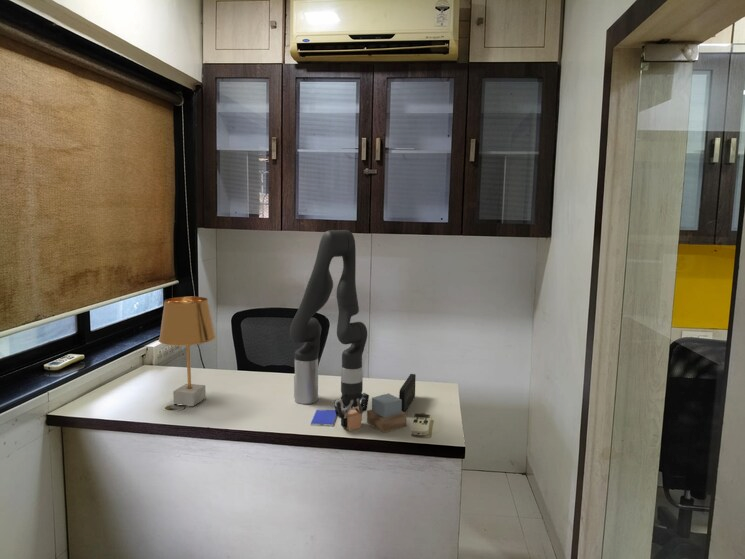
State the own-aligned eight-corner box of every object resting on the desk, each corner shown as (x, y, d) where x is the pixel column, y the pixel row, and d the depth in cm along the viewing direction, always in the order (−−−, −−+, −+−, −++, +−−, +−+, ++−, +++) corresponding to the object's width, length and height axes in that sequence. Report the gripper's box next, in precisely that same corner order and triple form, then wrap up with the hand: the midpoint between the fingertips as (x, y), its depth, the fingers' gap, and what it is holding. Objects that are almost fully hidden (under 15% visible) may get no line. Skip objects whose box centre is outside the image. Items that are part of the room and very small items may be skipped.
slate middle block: (371, 411, 184) (372, 397, 183) (388, 406, 188) (388, 393, 188) (384, 418, 178) (384, 404, 177) (401, 413, 182) (401, 399, 182)
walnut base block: (367, 424, 185) (367, 410, 184) (388, 417, 191) (388, 404, 190) (384, 433, 177) (384, 419, 176) (406, 426, 183) (406, 413, 182)
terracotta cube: (341, 426, 182) (341, 412, 181) (353, 422, 185) (353, 409, 184) (349, 430, 178) (349, 417, 178) (361, 427, 181) (361, 413, 181)
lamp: (181, 390, 215) (177, 294, 209) (227, 394, 210) (224, 296, 205) (149, 409, 194) (144, 303, 189) (200, 414, 190) (196, 306, 185)
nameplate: (403, 416, 191) (404, 390, 190) (398, 415, 192) (399, 390, 191) (415, 397, 211) (415, 373, 210) (410, 396, 212) (411, 373, 211)
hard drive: (316, 409, 194) (310, 422, 182) (337, 409, 194) (333, 423, 181) (316, 413, 194) (310, 427, 182) (337, 413, 194) (333, 427, 182)
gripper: (362, 372, 187) (361, 417, 189) (328, 380, 178) (328, 426, 180) (374, 378, 181) (374, 424, 183) (340, 386, 172) (340, 434, 174)
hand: (351, 425), depth 182 cm, fingers open, 5 cm apart
